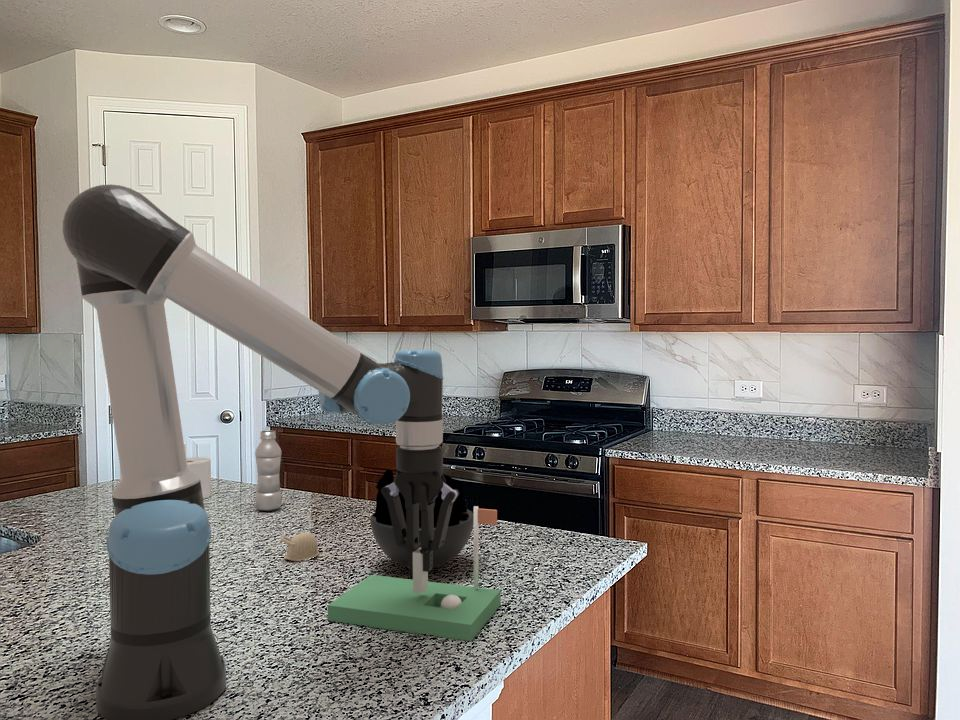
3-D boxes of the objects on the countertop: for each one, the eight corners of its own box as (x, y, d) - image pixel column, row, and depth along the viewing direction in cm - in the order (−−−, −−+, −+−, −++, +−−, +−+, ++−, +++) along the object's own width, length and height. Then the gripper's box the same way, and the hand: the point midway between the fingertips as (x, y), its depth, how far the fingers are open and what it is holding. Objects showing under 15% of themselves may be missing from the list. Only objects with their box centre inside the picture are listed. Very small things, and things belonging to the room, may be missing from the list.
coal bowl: (493, 560, 146) (493, 466, 145) (436, 592, 129) (436, 485, 128) (411, 545, 157) (410, 457, 156) (348, 572, 139) (348, 474, 138)
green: (471, 641, 109) (471, 531, 108) (327, 620, 117) (326, 517, 116) (500, 604, 123) (500, 507, 122) (371, 588, 131) (370, 496, 130)
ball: (437, 619, 117) (457, 622, 116) (437, 597, 117) (458, 600, 116) (445, 611, 120) (465, 614, 119) (445, 590, 120) (465, 592, 119)
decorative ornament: (323, 557, 148) (323, 531, 148) (283, 565, 143) (283, 538, 143) (315, 552, 152) (315, 527, 151) (276, 560, 147) (275, 534, 146)
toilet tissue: (203, 490, 208) (202, 455, 208) (218, 498, 199) (218, 461, 198) (164, 496, 201) (163, 460, 201) (178, 504, 192) (177, 466, 192)
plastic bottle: (250, 512, 184) (248, 432, 183) (265, 505, 191) (264, 429, 190) (272, 514, 182) (271, 433, 181) (287, 507, 189) (286, 430, 188)
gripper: (465, 443, 120) (466, 586, 121) (392, 440, 124) (393, 578, 125) (449, 451, 113) (450, 602, 114) (372, 447, 117) (373, 593, 118)
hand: (420, 589), depth 120 cm, fingers closed
